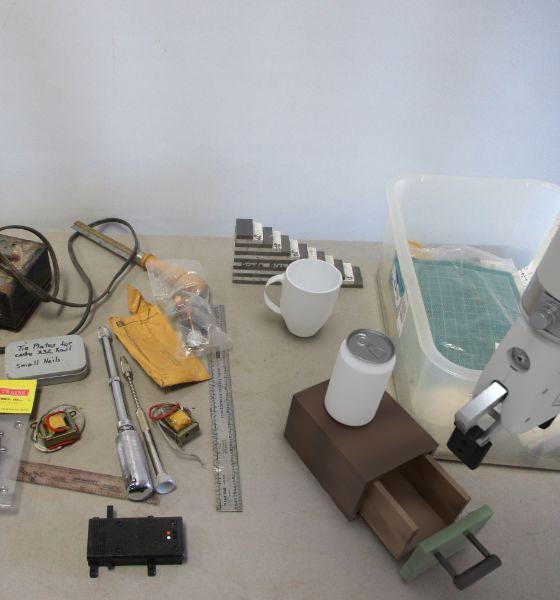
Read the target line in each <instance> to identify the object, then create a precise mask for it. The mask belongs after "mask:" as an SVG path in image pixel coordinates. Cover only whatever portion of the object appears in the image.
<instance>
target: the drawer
mask: <svg viewBox="0 0 560 600" xmlns="http://www.w3.org/2000/svg"><path fill="white" fill-rule="evenodd" d="M471 500H472V496H471V495H470V494H469V493H468V492H467V491H466V490H465V489H464V488H463V487H462V486H461V485H460V484H459V482H457V481H456V480H455V479H454V478H453V477H452V476H451V474H449V473H448V471H446V469H445V468H444V467H443V466H441V464H440V463H439V462H438V461H437V460H436V459H435V458H434V456H433V457H432V456H431V455H430V454H429V453H427V454H425V455H423V456H421V457H419V458H417V459H415V460H413V461H412V462H410V463H408V464H406V465H404V466H402V467H400V468H398V469H396V470H394V471H392V472H390V473H389V474H387V475H385V476H383V477H381V478H379V479H377V480H375V481H373V482H371V483H370V485H369V487H368V489H367V492H366V494H365V496H364V498H363V500H362V503H361V505H360V507H359V509H358V512H359V513H360V514H361V517H362V518H363V519H364V520H365V522H367V524H368V526H369V527H370V528H371V530H372V531H373V532H374V533H375V535H376V536H377V537H378V538H379V539H380V540H381V542H382V543H383V544H384V546H385V548H386V549H388V550H389V552H390V553H391V554H392V556H393V557H394V558H395V559H396V560H399V559H400V558H402V557H404V556H406V555H407V554H409V553H410V552H412V553H411V555H410V556H409V558H408V559H407V562H406V563H405V564H404V566H403V567H402V568H401V571H400V572H399V575H400V576H401V577H402V579H403V580H404V581H405V582H406V583H409V582H410V581H413V580H414V579H415V578H417V577H419V576H421V574H423V573H425V572H427V571H429V569H432V568H433V567H434V566H436V565H438V564H440V565H441V566H442V568H443V569H444V570H445V571H446V572H447V573H448V574H449V576H450V578H452V584H453V585H454V587H455V588H456V589H457V590H458V591H464V590H466V589H467V588H469V587H471V586H472V585H474V584H475V583H477V582H479V581H480V580H482V579H483V578H485V577H486V576H488V575H489V574H491V573H493V572H494V571H496V570H497V569H499V568H500V567H501V566H502V565H503V563H502V560H501V558H500V557H499V556H498V555H497V554H495V553H491V552H490V551H489V550H488V549H487V548H486V547H485V546H484V545H483V544H482V543H481V542H480V540H478V539H477V536H478V534H479V533H480V532H481V531H482V529H483V528H484V527H485V526H486V524H487V523H488V522H489V520H490V519H491V518H492V516H493V515H494V514H495V512H494V510H493V509H491V507H489V505H488V504H486V503H485V504H483V505H482V506H480V507H478V508H476V509H475V510H473V511H471V512H470V513H468V514H466V515H465V516H462V517H461V515H462V513H463V512H464V510H465V509H466V507H467V506H468V505H469V503H470V501H471ZM459 517H461V518H460V519H459ZM471 544H472V546H474V548H475V549H476V550H477V552H479V553H480V554H481V555H482V556H483V557H484V558H483V559H481V560H480V561H479V562H477V563H475V564H474V565H472V566H470V567H468V568H467V569H466V570H464V571H463V572H461V573H459V572H457V570H456V569H455V568H454V567H453V566H452V565H451V564H450V562H449V561H448V560H447V559H448V558H449V557H451V556H454V554H456V553H458V552H459V551H461V550H462V549H464V548H466V547H467V546H469V545H471Z"/></svg>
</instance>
